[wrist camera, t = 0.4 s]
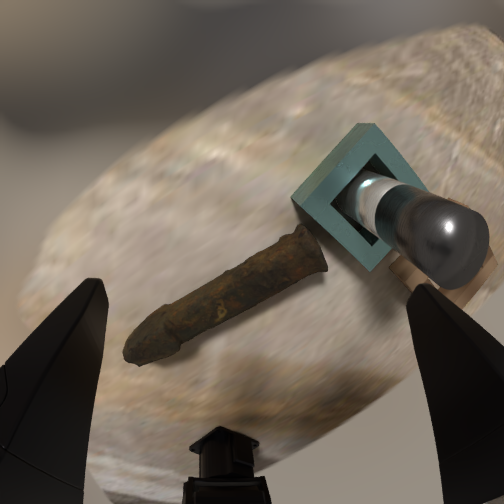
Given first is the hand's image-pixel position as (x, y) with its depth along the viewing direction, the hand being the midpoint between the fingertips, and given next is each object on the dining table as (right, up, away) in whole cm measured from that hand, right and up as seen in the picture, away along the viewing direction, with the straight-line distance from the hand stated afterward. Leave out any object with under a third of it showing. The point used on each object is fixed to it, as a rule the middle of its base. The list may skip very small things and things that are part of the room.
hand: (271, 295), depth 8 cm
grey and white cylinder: (+8, +6, +16) cm, 19 cm away
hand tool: (-4, -3, +19) cm, 19 cm away
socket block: (+8, +6, +16) cm, 19 cm away
